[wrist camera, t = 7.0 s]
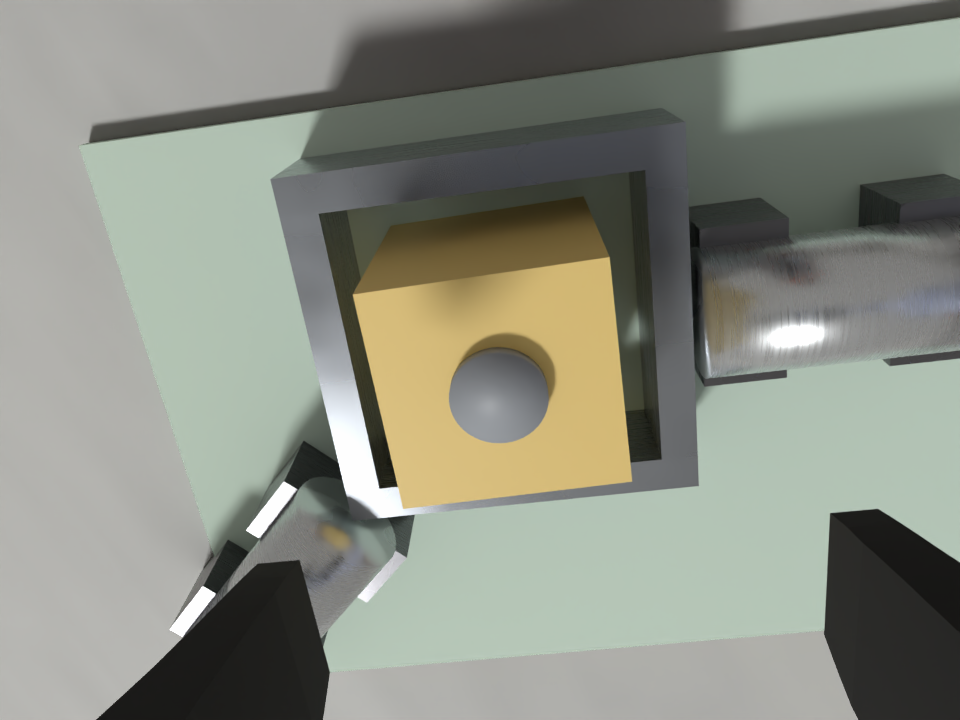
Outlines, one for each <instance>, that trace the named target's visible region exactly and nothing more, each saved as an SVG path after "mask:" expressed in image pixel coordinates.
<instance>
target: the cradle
mask: <svg viewBox="0 0 960 720" xmlns="http://www.w3.org/2000/svg"><path fill="white" fill-rule="evenodd" d="M627 172H629V184H630V199H631V214H632V230H633V245H634V260H635V276H636V291H637V306H638V321H639V337H640V352H641V367H642V383H643V398H644V409H642V410H633V411H625V415H626V425H627V435H628V445H629V454H630V464H631V474H632V482H625V483H616V484H608V485H600V486H591V487H583V488H575V489H566V490H558V491H550V492H541V493H533V494H525V495H516V496H508V497H499V498H491V499H483V500H474V501H466V502H458V503H449V504H441V505H433V506H424V507H416V508H407V509H403V506H402V502H401V498H400V494H399V489H398V485H397V481H396V477H395V472H394V468H393V464H392V460H391V455H390V451H389V447H388V443H387V438H386V434H385V430H384V426H383V421H382V417H381V413H380V409H379V404H378V400H377V396H376V392H375V387H374V383H373V379H372V375H371V370H370V366H369V362H368V358H367V353H366V349H365V345H364V341H363V336H362V332H361V328H360V324H359V319H358V315H357V311H356V307H355V302H354V298H353V293H354V291H355V289H356V288H357V286H358V284H359V282H360V280H361V277H360V273H359V268H358V263H357V258H356V253H355V248H354V244H353V239H352V234H351V229H350V224H349V219H348V215H347V210H350V209H357V208H365V207H372V206H380V205H387V204H395V203H402V202H410V201H417V200H425V199H432V198H440V197H447V196H455V195H462V194H470V193H477V192H485V191H492V190H500V189H507V188H515V187H522V186H529V185H537V184H544V183H552V182H559V181H567V180H574V179H582V178H589V177H597V176H604V175H612V174H619V173H627ZM270 180H271V184H272V189H273V193H274V197H275V201H276V205H277V209H278V213H279V218H280V222H281V226H282V230H283V234H284V238H285V243H286V247H287V251H288V255H289V259H290V263H291V267H292V272H293V276H294V280H295V284H296V288H297V292H298V296H299V301H300V305H301V309H302V313H303V317H304V321H305V325H306V330H307V334H308V338H309V342H310V346H311V350H312V355H313V359H314V363H315V367H316V371H317V375H318V379H319V384H320V388H321V392H322V396H323V400H324V404H325V408H326V413H327V417H328V421H329V425H330V429H331V433H332V437H333V442H334V446H335V450H336V454H337V458H338V462H339V467H340V471H341V475H342V479H343V483H344V487H345V491H346V496H347V500H348V504H349V508H350V512H351V516H352V520H353V521H356V520H366V519H376V518H386V517H396V516H406V515H416V514H426V513H436V512H446V511H456V510H466V509H475V508H485V507H495V506H505V505H515V504H525V503H535V502H545V501H555V500H565V499H575V498H585V497H595V496H605V495H615V494H625V493H635V492H645V491H655V490H665V489H675V488H685V487H694V486H699V475H698V448H697V421H696V393H695V366H694V339H693V312H692V284H691V257H690V230H689V203H688V175H687V148H686V122H685V121H683V120H682V119H680V118H678V117H677V116H675V115H673V114H671V113H670V112H668V111H666V110H665V109H663V108H657V109H650V110H643V111H635V112H628V113H621V114H614V115H607V116H600V117H592V118H585V119H578V120H571V121H564V122H557V123H550V124H542V125H535V126H528V127H521V128H514V129H507V130H500V131H492V132H485V133H478V134H471V135H464V136H457V137H450V138H442V139H435V140H428V141H421V142H414V143H407V144H400V145H392V146H385V147H378V148H371V149H364V150H357V151H350V152H342V153H335V154H328V155H321V156H314V157H307V158H300V159H299V160H297V161H296V162H294V163H293V164H291V165H290V166H289V167H287V168H286V169H284V170H283V171H281V172H280V173H278V174H277V175H276V176H274V177H273V178H271V179H270Z"/></svg>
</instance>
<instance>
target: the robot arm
mask: <svg viewBox="0 0 960 720" xmlns="http://www.w3.org/2000/svg"><path fill="white" fill-rule="evenodd" d="M824 635H825V638H826V641H827V643H828V646H829V649H830V651H831V654H832V657H833V660H834V662H835V665H836V668H837V670H838V673H839V676H840V678H841V681H842V683H843V686H844V688H845V691H846V693H847V696H848V698H849V701H850V703H851V706H852V708H853V710H854V712H855V714H856V716H857V718H858V720H960V562H959V561H957V560H956V559H954V558H953V557H951V556H949V555H948V554H946V553H945V552H943V551H942V550H940V549H939V548H937V547H936V546H934V545H933V544H931V543H930V542H929V541H927V540H926V539H924V538H923V537H921V536H920V535H918V534H917V533H915V532H914V531H912V530H911V529H909V528H907V527H906V526H904V525H903V524H901V523H900V522H898V521H897V520H895V519H894V518H892V517H891V516H889V515H887V514H886V513H884V512H882V511H881V510H879V509H870V510H858V511H847V512H836V513H830V524H829V544H828V565H827V586H826V606H825V627H824ZM329 674H330V671H329V667H328V663H327V659H326V656H325V652H324V648H323V645H322V641H321V637H320V633H319V630H318V626H317V622H316V619H315V615H314V611H313V607H312V604H311V600H310V596H309V593H308V589H307V585H306V581H305V578H304V574H303V570H302V567H301V563H300V560H293V561H282V562H270V563H259V564H257V565H256V566H255V567H254V568H252V569H251V570H250V571H249V572H248V573H247V574H246V575H245V576H244V577H243V578H242V579H241V580H240V581H239V582H238V583H237V584H236V585H235V586H234V587H233V588H232V589H231V590H230V591H229V592H228V593H227V594H226V595H225V596H224V597H223V598H222V599H221V600H220V601H219V602H218V603H217V604H216V605H215V606H214V607H213V608H212V609H211V610H210V611H209V612H208V613H207V614H206V615H205V616H204V617H203V618H202V619H201V620H200V621H199V622H198V623H197V624H196V625H195V626H194V627H193V628H192V629H191V630H190V631H189V632H188V633H187V634H186V635H185V636H184V637H183V638H182V639H181V640H180V641H179V642H178V643H177V644H176V645H175V646H174V647H173V648H172V649H171V650H170V651H169V652H168V653H167V654H166V655H165V656H164V657H163V658H162V659H161V660H160V661H159V662H158V663H157V664H156V665H155V666H154V667H153V668H152V669H151V670H150V671H149V672H148V673H147V674H146V675H145V676H143V677H142V678H141V679H140V680H139V681H138V682H137V683H136V684H135V685H134V686H133V687H131V688H130V689H129V690H128V691H127V692H126V693H125V694H124V695H123V696H122V697H121V698H119V699H118V700H117V701H116V702H115V703H114V704H113V705H112V706H111V707H110V708H109V709H107V710H106V711H105V712H104V713H103V714H102V715H101V716H100V717H99V718H98V719H97V720H323V715H324V708H325V702H326V695H327V688H328V681H329Z"/></svg>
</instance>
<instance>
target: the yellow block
mask: <svg viewBox="0 0 960 720" xmlns="http://www.w3.org/2000/svg"><path fill="white" fill-rule="evenodd" d="M353 298H354V302H355V307H356V311H357V315H358V319H359V324H360V328H361V332H362V336H363V341H364V345H365V349H366V353H367V358H368V362H369V366H370V370H371V375H372V379H373V383H374V387H375V392H376V396H377V400H378V404H379V409H380V413H381V417H382V421H383V426H384V430H385V434H386V438H387V443H388V447H389V451H390V455H391V460H392V464H393V468H394V472H395V477H396V481H397V485H398V489H399V494H400V498H401V502H402V506H403V509H407V508H416V507H424V506H433V505H441V504H449V503H458V502H466V501H474V500H483V499H491V498H499V497H508V496H516V495H525V494H533V493H541V492H550V491H558V490H566V489H575V488H583V487H591V486H600V485H608V484H616V483H625V482H632V474H631V464H630V454H629V445H628V435H627V425H626V415H625V405H624V395H623V385H622V375H621V365H620V355H619V345H618V335H617V325H616V315H615V305H614V295H613V285H612V275H611V265H610V257H609V254H608V252H607V250H606V247H605V245H604V243H603V240H602V238H601V236H600V233H599V231H598V229H597V226H596V224H595V222H594V219H593V217H592V215H591V212H590V210H589V208H588V205H587V203H586V200H585V198H584V196H581V197H575V198H568V199H562V200H555V201H549V202H542V203H536V204H529V205H523V206H516V207H510V208H503V209H496V210H490V211H483V212H477V213H470V214H464V215H457V216H451V217H444V218H438V219H431V220H425V221H418V222H412V223H405V224H398V225H392V226H390V228H389V230H388V232H387V233H386V235H385V237H384V239H383V241H382V242H381V244H380V246H379V248H378V250H377V252H376V253H375V255H374V257H373V259H372V261H371V262H370V264H369V266H368V268H367V270H366V271H365V273H364V275H363V277H362V279H361V280H360V282H359V284H358V286H357V288H356V289H355V291H354V293H353Z"/></svg>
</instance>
